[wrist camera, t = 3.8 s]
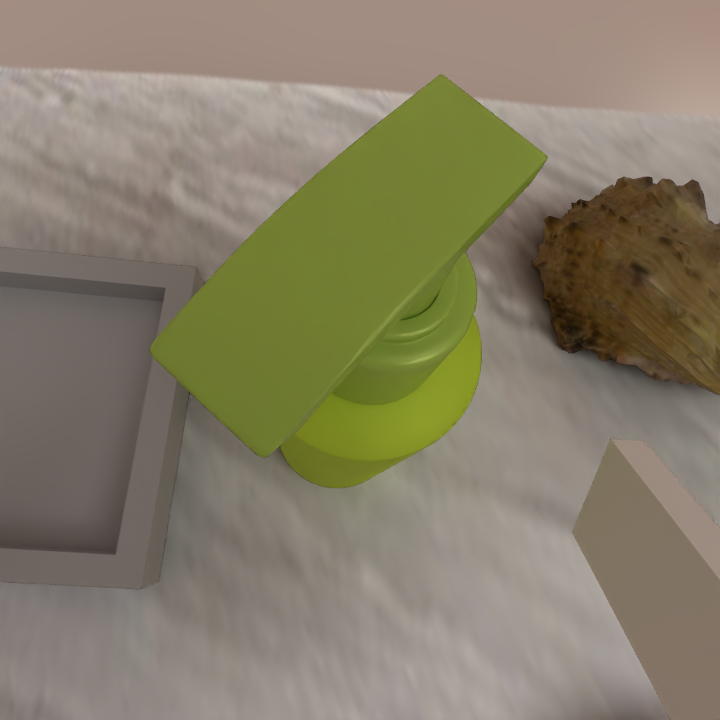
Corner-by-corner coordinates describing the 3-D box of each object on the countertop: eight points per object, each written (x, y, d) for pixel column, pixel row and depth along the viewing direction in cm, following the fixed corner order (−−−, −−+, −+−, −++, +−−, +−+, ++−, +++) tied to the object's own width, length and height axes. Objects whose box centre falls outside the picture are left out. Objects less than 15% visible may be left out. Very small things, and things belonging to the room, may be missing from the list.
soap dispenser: (236, 446, 25) (3, 215, 6) (333, 347, 27) (406, -78, 8) (326, 532, 24) (411, 600, 5) (419, 423, 26) (740, 169, 7)
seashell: (718, 457, 29) (953, 433, 19) (486, 346, 27) (613, 262, 18) (744, 291, 32) (953, 202, 23) (540, 187, 31) (670, 47, 21)
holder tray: (206, 289, 27) (196, 266, 24) (158, 581, 23) (141, 589, 20) (-81, 261, 26) (-122, 234, 23) (-185, 562, 22) (-248, 569, 19)
